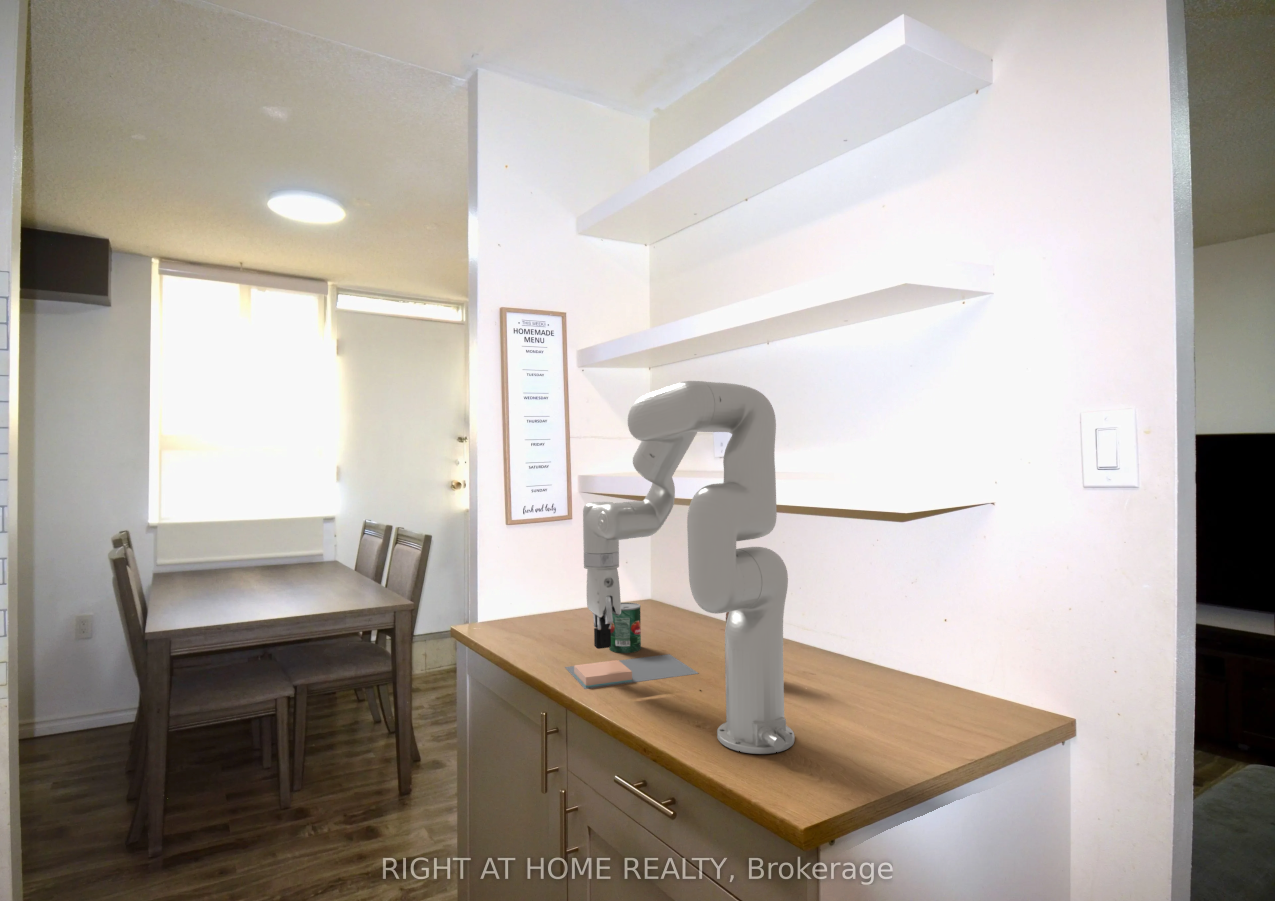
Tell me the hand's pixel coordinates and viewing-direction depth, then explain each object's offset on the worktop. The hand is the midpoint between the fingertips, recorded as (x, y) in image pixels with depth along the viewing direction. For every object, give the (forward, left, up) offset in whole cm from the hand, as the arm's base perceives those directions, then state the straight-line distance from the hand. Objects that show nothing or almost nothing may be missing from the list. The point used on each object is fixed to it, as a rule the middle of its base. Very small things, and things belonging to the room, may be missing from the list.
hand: (602, 646), depth 145 cm
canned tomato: (+20, -12, -7) cm, 24 cm away
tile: (+5, 0, -6) cm, 7 cm away
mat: (+3, -7, -7) cm, 11 cm away
